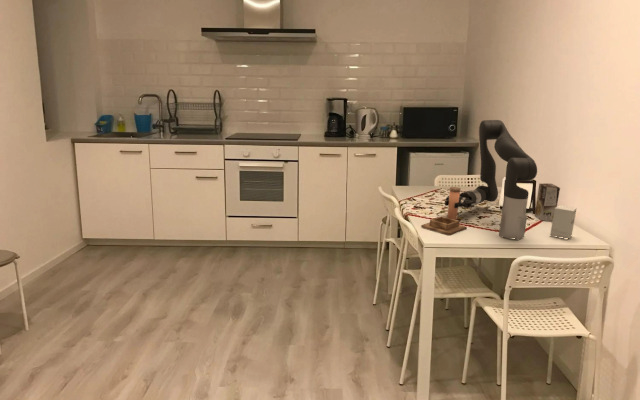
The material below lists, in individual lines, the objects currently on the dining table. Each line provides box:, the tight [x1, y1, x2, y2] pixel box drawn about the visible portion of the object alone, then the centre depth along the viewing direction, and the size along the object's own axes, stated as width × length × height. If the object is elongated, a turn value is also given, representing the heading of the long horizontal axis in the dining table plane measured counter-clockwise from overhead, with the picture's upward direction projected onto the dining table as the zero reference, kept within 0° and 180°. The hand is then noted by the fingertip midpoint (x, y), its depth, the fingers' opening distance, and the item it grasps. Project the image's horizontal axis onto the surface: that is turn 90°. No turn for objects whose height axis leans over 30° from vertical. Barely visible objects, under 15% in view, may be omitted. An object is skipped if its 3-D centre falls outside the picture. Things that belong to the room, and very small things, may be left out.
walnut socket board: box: [420, 215, 468, 236], centre depth 225 cm, size 14×14×4 cm
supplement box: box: [550, 204, 577, 239], centre depth 219 cm, size 7×7×13 cm
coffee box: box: [534, 182, 561, 222], centre depth 245 cm, size 9×6×16 cm
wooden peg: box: [446, 186, 461, 221], centre depth 235 cm, size 5×5×15 cm
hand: (450, 204), depth 233 cm, fingers closed on wooden peg, 4 cm apart
